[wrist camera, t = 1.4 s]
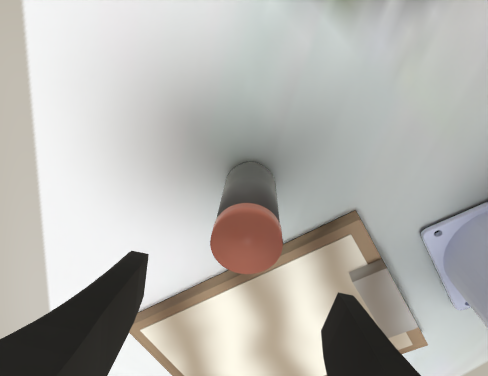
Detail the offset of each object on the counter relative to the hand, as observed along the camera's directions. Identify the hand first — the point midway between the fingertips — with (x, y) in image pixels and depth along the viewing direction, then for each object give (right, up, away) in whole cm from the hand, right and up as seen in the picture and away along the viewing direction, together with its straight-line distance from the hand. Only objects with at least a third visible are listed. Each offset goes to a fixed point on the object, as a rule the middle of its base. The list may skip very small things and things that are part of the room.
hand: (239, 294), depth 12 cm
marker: (+1, +4, +10) cm, 11 cm away
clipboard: (+3, -7, +15) cm, 17 cm away
